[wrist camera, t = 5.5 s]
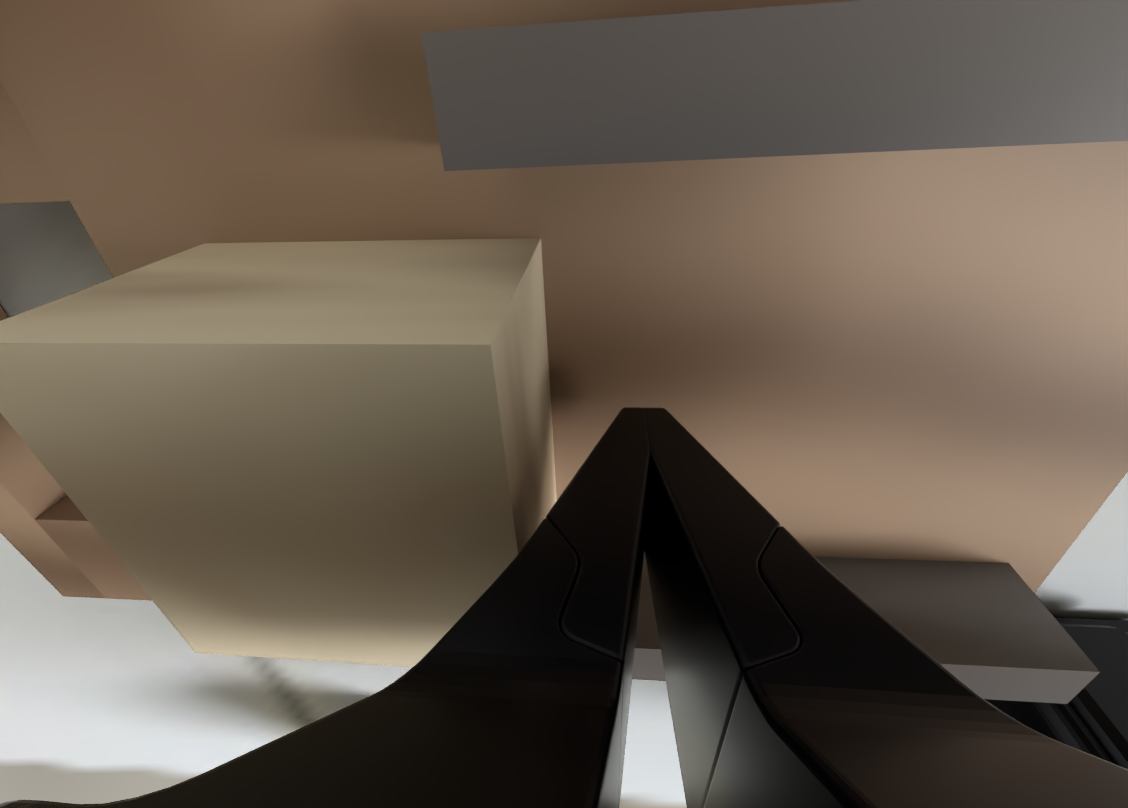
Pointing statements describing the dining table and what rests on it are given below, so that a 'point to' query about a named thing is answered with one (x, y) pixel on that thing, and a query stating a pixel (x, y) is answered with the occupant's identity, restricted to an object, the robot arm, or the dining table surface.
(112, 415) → the block
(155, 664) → the dining table surface
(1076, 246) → the lane board
